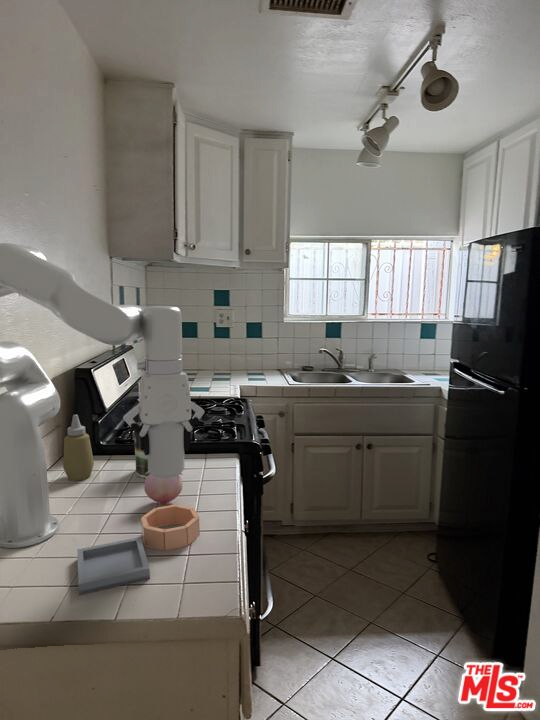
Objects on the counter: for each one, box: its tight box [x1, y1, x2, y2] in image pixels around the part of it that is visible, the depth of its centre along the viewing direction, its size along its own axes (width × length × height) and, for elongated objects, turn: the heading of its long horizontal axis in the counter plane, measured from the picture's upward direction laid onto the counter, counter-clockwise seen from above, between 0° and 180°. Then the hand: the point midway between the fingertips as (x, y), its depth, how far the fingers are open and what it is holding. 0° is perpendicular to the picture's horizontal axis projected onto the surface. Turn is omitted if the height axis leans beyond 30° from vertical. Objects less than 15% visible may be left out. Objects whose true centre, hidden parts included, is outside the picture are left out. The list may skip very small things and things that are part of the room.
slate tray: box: [76, 536, 151, 596], centre depth 89 cm, size 12×12×2 cm
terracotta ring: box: [140, 504, 201, 552], centre depth 101 cm, size 12×12×4 cm
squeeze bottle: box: [62, 414, 95, 482], centre depth 132 cm, size 8×8×18 cm
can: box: [147, 421, 185, 478], centre depth 99 cm, size 8×8×12 cm
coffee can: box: [133, 421, 150, 479], centre depth 136 cm, size 10×10×14 cm
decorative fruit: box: [143, 471, 184, 505], centre depth 116 cm, size 9×8×10 cm
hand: (165, 450), depth 99 cm, fingers closed on can, 7 cm apart
